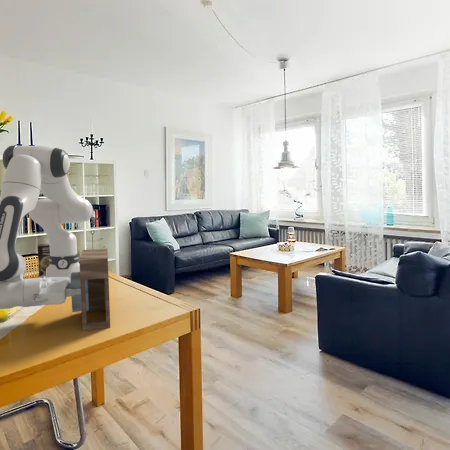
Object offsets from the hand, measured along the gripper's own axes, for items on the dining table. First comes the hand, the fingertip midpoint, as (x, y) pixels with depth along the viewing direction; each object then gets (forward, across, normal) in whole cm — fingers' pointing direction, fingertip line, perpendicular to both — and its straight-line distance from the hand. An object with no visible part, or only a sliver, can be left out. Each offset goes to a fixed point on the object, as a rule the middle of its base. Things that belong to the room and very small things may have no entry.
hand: (82, 288), depth 120 cm
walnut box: (+4, 0, +11) cm, 12 cm away
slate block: (-1, 0, +7) cm, 7 cm away
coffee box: (-19, +67, +11) cm, 71 cm away
